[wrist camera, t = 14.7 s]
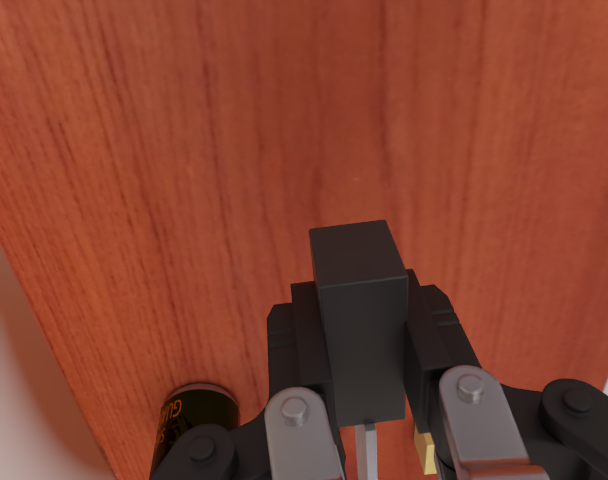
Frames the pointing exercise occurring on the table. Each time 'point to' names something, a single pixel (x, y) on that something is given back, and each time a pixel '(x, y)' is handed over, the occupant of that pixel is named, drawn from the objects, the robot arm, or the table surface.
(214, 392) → the guarana soda can
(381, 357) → the knife
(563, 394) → the robot arm
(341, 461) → the lighter
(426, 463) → the butter
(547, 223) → the table surface
